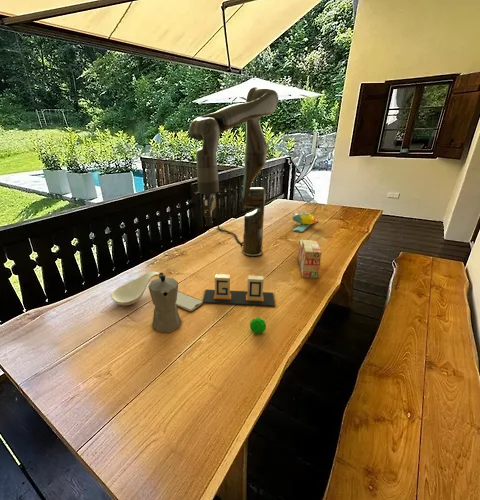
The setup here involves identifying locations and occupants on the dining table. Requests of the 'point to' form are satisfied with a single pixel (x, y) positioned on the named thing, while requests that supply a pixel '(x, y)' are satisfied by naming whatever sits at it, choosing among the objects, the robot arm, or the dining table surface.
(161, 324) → the coffeepot
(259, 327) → the polyhedron
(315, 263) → the stack of blocks
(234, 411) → the dining table surface
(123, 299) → the spoon rest
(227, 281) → the cream oblong block
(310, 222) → the toy airplane
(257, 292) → the upright beige pillar
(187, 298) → the smartphone
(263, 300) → the word mat
